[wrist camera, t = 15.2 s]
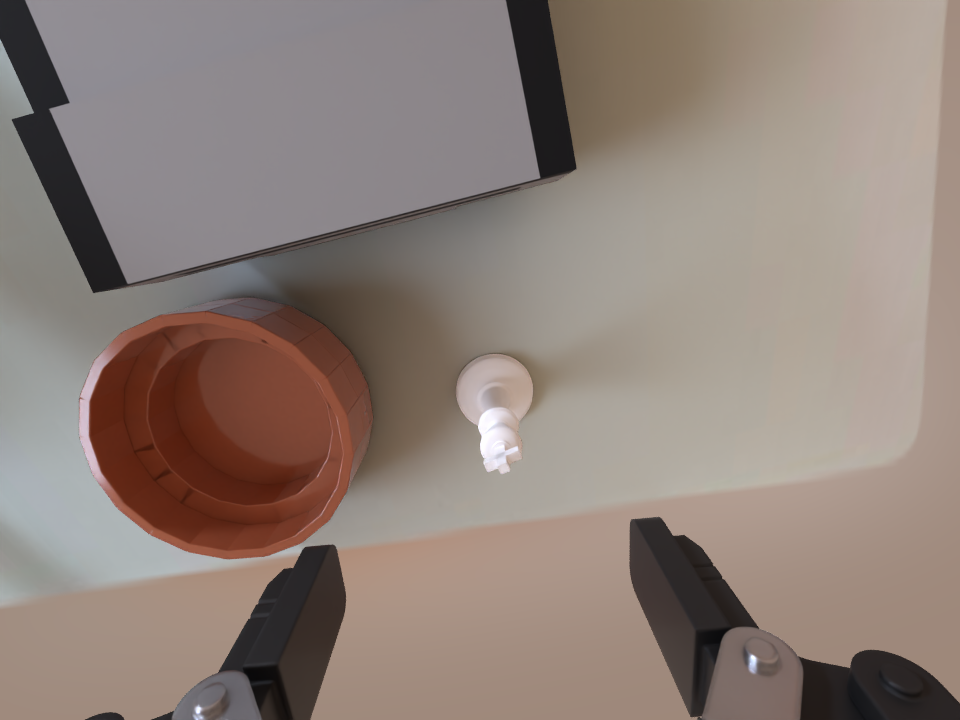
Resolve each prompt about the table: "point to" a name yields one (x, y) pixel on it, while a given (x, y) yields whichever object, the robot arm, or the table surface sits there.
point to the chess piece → (496, 406)
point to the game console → (276, 120)
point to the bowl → (226, 426)
